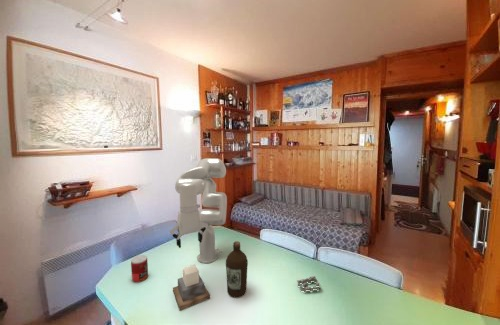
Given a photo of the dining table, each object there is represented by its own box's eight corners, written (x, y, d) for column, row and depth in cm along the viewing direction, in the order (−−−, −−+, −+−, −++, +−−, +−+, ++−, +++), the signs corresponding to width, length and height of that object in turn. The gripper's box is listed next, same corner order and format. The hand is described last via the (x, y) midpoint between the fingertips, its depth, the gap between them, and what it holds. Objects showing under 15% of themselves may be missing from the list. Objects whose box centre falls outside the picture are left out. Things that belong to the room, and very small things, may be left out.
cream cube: (195, 275, 105) (194, 264, 105) (198, 282, 100) (198, 270, 100) (182, 279, 102) (182, 268, 102) (186, 287, 97) (185, 274, 97)
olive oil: (231, 282, 111) (230, 236, 109) (250, 286, 108) (250, 239, 106) (222, 296, 101) (221, 246, 99) (243, 301, 98) (243, 249, 96)
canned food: (141, 283, 110) (140, 263, 109) (128, 281, 112) (127, 261, 111) (151, 274, 118) (150, 255, 116) (138, 272, 119) (137, 254, 118)
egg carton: (315, 282, 111) (315, 275, 111) (322, 293, 104) (322, 285, 103) (295, 284, 110) (296, 276, 110) (301, 294, 103) (301, 286, 102)
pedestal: (200, 281, 112) (200, 269, 111) (210, 298, 100) (209, 284, 99) (172, 291, 104) (172, 278, 104) (179, 310, 92) (179, 295, 92)
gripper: (204, 203, 105) (204, 236, 107) (167, 209, 96) (169, 245, 98) (209, 207, 99) (210, 242, 101) (170, 214, 90) (172, 252, 92)
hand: (189, 243), depth 100 cm, fingers open, 9 cm apart
